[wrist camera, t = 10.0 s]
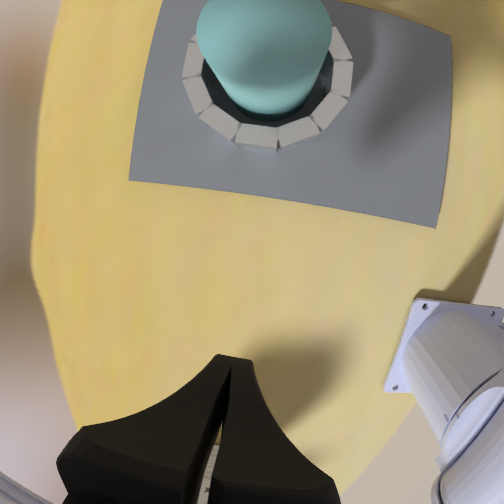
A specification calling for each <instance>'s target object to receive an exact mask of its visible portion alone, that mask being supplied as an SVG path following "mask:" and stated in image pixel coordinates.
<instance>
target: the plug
mask: <svg viewBox="0 0 504 504" xmlns="http://www.w3.org/2000/svg"><path fill="white" fill-rule="evenodd" d="M196 37H197V43H198V46H199V49H200V51H201V53H202V55H203V56H204V58H205V59H206V61H207V63H208V64H209V66H210V67H211V69H212V70H213V72H214V73H215V75H216V77H217V78H218V80H219V81H220V83H221V85H222V86H223V88H224V89H225V91H226V93H227V94H228V96H229V97H230V99H231V101H232V102H233V104H234V105H235V106H236V108H237V109H238V110H239V111H241V112H242V113H243V114H244V115H246V116H248V117H250V118H252V119H255V120H258V121H263V122H276V121H281V120H285V119H287V118H289V117H291V116H293V115H295V114H296V113H297V112H299V111H300V110H301V109H302V108H303V106H304V105H305V104H306V102H307V100H308V98H309V96H310V93H311V91H312V88H313V86H314V83H315V81H316V79H317V76H318V74H319V71H320V69H321V66H322V64H323V62H324V59H325V57H326V54H327V52H328V49H329V47H330V44H331V39H332V24H331V20H330V17H329V14H328V12H327V10H326V8H325V7H324V5H323V4H322V2H321V1H320V0H209V1H208V2H207V3H206V5H205V6H204V8H203V9H202V11H201V13H200V15H199V19H198V22H197V28H196Z"/></svg>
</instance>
